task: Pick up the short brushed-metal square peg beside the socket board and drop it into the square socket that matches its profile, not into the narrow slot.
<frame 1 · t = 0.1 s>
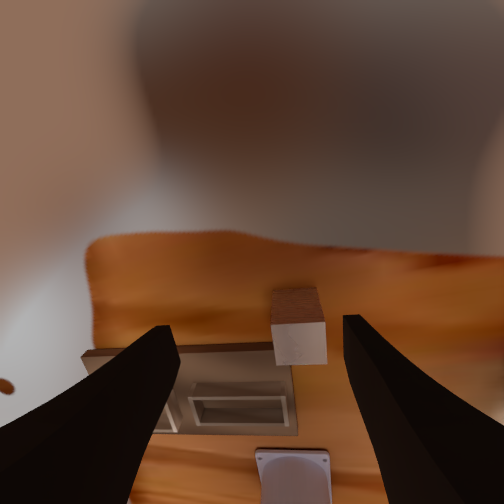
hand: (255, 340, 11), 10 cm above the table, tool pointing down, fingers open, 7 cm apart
socket board: (194, 388, 26), on the table
square peg: (295, 306, 21), on the table
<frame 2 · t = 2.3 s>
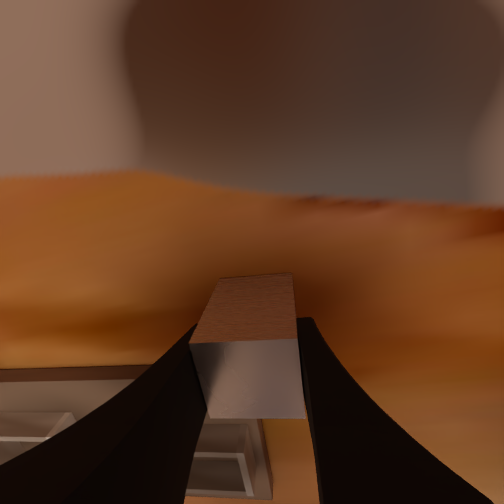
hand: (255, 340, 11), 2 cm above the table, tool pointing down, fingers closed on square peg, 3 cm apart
socket board: (119, 428, 18), on the table
square peg: (259, 307, 13), on the table, touching gripper
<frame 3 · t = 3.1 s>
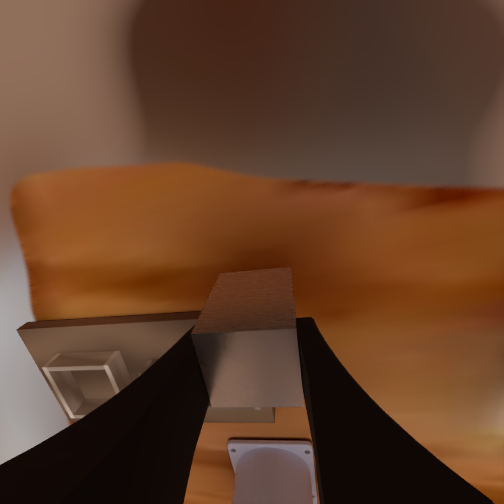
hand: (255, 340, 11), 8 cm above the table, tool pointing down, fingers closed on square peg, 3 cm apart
socket board: (153, 367, 22), on the table
square peg: (259, 300, 13), point 5 cm above the table, touching gripper
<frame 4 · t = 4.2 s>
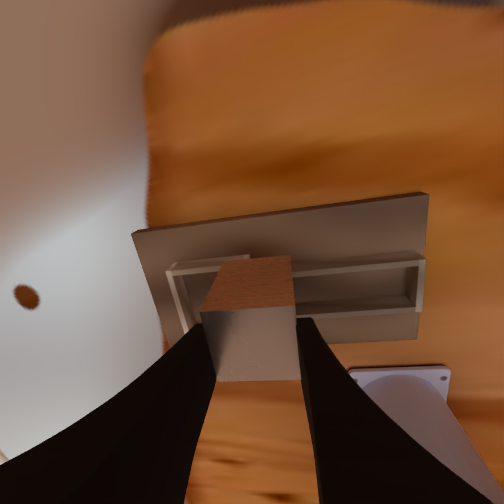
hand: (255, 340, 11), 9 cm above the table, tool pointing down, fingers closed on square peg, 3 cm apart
socket board: (276, 281, 20), on the table
square peg: (260, 287, 14), point 6 cm above the table, touching gripper
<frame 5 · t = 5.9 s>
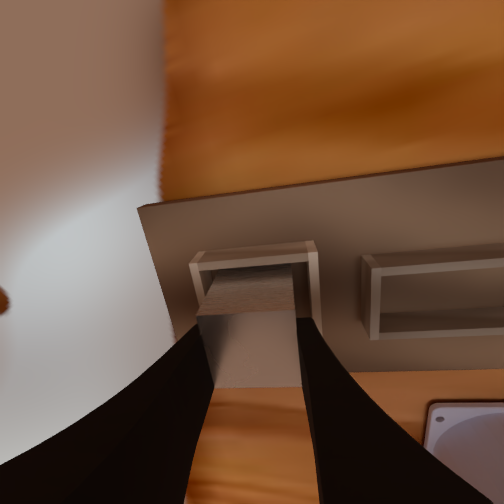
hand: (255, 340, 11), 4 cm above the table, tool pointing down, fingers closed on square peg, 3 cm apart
socket board: (344, 281, 14), on the table
square peg: (260, 290, 14), point 1 cm above the table, touching gripper, socket board
when the fingers open (4 cm above the table, at t = 6.5 s): square peg stays where it is, resting on socket board.
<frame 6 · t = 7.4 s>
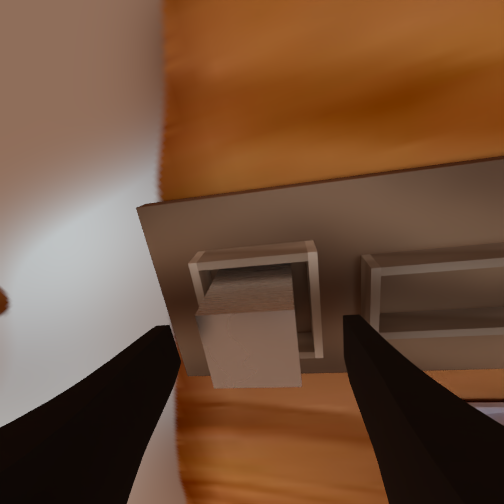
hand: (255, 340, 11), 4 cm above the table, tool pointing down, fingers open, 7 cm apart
socket board: (344, 281, 14), on the table
square peg: (259, 290, 14), point 1 cm above the table, touching socket board
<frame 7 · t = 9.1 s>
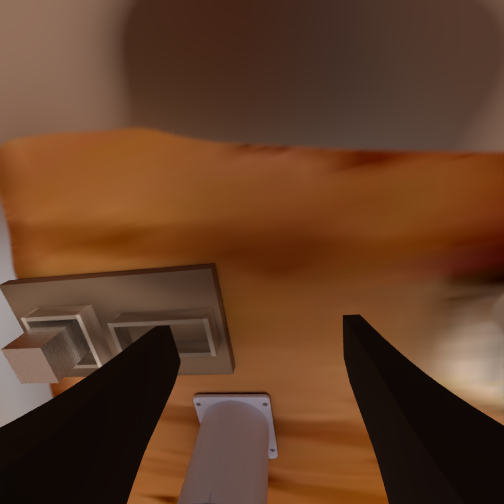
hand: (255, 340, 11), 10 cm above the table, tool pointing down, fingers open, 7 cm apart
socket board: (124, 323, 25), on the table
square peg: (73, 329, 24), point 1 cm above the table, touching socket board
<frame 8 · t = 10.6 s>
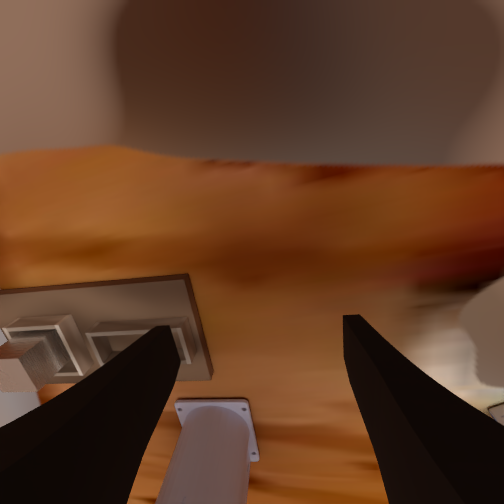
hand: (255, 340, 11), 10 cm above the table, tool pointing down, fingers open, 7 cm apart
socket board: (104, 332, 25), on the table
square peg: (55, 338, 25), point 1 cm above the table, touching socket board
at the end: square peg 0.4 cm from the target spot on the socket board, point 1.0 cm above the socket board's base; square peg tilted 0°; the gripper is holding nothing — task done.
